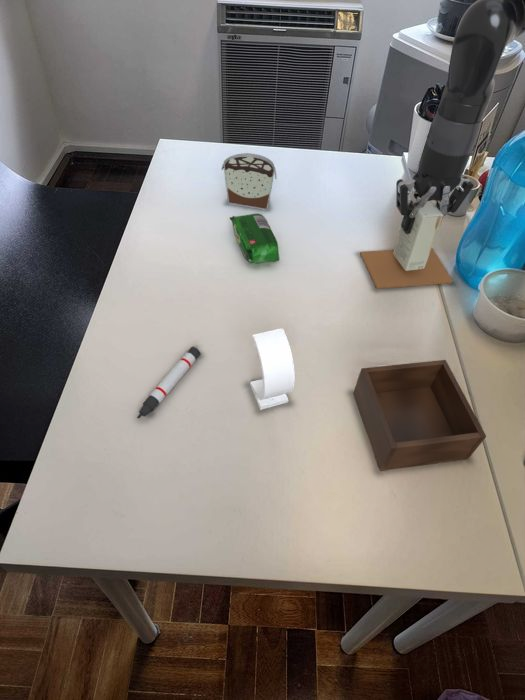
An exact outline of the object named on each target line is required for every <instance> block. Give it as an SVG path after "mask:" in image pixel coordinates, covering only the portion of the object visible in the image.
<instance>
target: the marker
mask: <svg viewBox="0 0 525 700" xmlns="http://www.w3.org/2000/svg"><path fill="white" fill-rule="evenodd" d="M200 356H201V351H200V350H199V349H198V348H197V347H196V346H191V347H190V348H189V349H188V351H186V353H184V355H183V356H182V357H181V358H180V359H179V360H178V361H177V363H176V364H175V365H174V366H173V368H171V369H170V371H169V372H168V373H167V374H166V376H164V377H163V379H162V380H161V381H160V382H159V383H158V385H156V387H155V388H154V389H153V390H152V391H151V393H150V394H149V395H148V397H147V398H145V400H144V401H143V402H142V407H140V409H139V411H138V413H139V414H138V416H137V417H136V418H137V419H141V417H146V416H147V415H149V414H150V413H151V412H154V411H155V410H156V408H157V407H158V406H159V405H160V404H161V403H162V401H163V400H164V399H165V398H166V397H167V395H168V394H170V392H171V390H172V389H173V388H174V387H175V386H176V385H177V383H178V382H179V381H180V380H181V379H182V377H184V375H185V374H186V373H187V372H188V370H189V369H190V368H191V367H192V366H193V364H194V363H195V362H196V360H197V359H198V358H199V357H200Z"/></svg>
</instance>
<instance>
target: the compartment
mask: <svg viewBox="0 0 525 700" xmlns="http://www.w3.org/2000/svg"><path fill="white" fill-rule="evenodd" d="M359 371H360V372H359V374H358V378H357V379H356V383H355V387H354V389H353V393H352V395H353V399H354V401H355V404H356V406H357V409H358V412H359V414H360V418H361V421H362V424H363V426H364V430H365V432H366V436H367V439H368V441H369V444H370V448H371V450H372V452H373V455H374V458H375V461H376V464H377V467H378V470H379V471H380V472H382V471H391V470H398V469H406V468H413V467H421V466H427V465H435V464H443V463H450V462H458V461H467V460H469V459H470V458H471V456H472V455H473V454H474V452H476V450H477V449H478V448H479V446H480V445H481V444H482V443H483V442H484V440H485V439H486V438H487V435H486V433H485V431H484V429H483V427H482V426H481V423H480V421H479V420H478V418H477V416H476V413H474V410H473V408H472V407H471V404H470V403H469V401H468V399H467V397H466V395H465V393H464V391H463V389H462V388H461V385H460V384H459V382H458V381H457V379H456V376H455V375H454V373H453V370H452V369H451V367H450V365H449V363H448V362H447V360H446V359H439V360H432V361H431V360H429V361H420V362H419V361H418V362H410V363H400V364H391V365H389V364H388V365H381V366H370V367H362V368H360V370H359Z"/></svg>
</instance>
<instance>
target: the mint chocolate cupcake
mask: <svg viewBox="0 0 525 700" xmlns="http://www.w3.org/2000/svg"><path fill="white" fill-rule="evenodd" d="M221 171H223V172H224V180H225V188H226V196H227V203H228V205H234V206H241V207H246V208H251V209H259V210H263V211H268V209H269V205H270V204H269V203H270V198H271V193H272V187H273V183H274V180H277V169H276V166H275V163H274V161H272V160H271V159H270V158H268V157H266V156H264V155H261V154H258V153H257V154H256V153H251V152H250V153H249V152H247V153H246V152H244V153H243V152H242V153H237V154H232V155H230V156H229V157H227V158H225V159H224V161H223V163H222V166H221Z"/></svg>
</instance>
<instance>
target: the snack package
mask: <svg viewBox="0 0 525 700" xmlns="http://www.w3.org/2000/svg"><path fill="white" fill-rule="evenodd" d="M229 220H230V221H231V224H232V228H233V233H234V237H235V239H236V241H237V243H238V245H239V248H240V249H241V251H242V255H243V257H244V258H245V260H246V261H247V262H249V263H250V264H252V265H253V264H255V265H256V264H261V263H262V264H263V263H269V262H273V263H276V262H280V253H279V252H280V251H279V244H278V241H277V238H276V236H275V234H274V233H273V230H272V228H271V225H270V224H269V221H268V220H267V219H266V217H265V215H263V214H261V213H251V214H245V215H238V216H234V215H232V216H230V217H229Z"/></svg>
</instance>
